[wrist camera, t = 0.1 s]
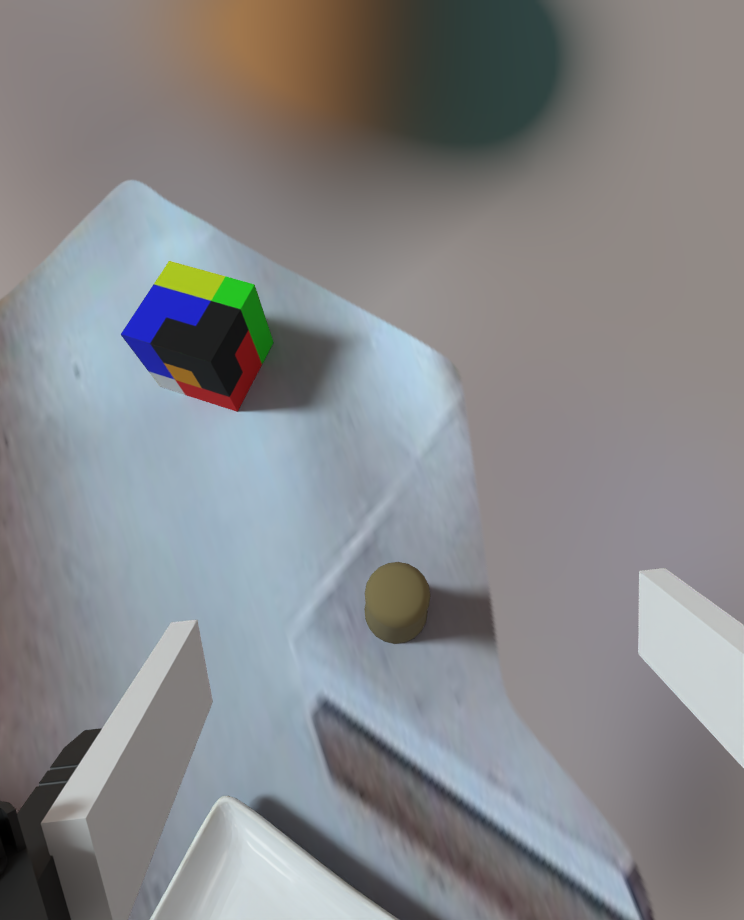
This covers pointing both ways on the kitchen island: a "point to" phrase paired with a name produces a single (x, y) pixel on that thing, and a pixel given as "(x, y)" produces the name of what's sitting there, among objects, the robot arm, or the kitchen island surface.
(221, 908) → the square plate
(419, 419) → the kitchen island surface
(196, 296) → the puzzle toy
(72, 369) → the kitchen island surface
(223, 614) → the kitchen island surface
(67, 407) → the kitchen island surface
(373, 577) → the cork
